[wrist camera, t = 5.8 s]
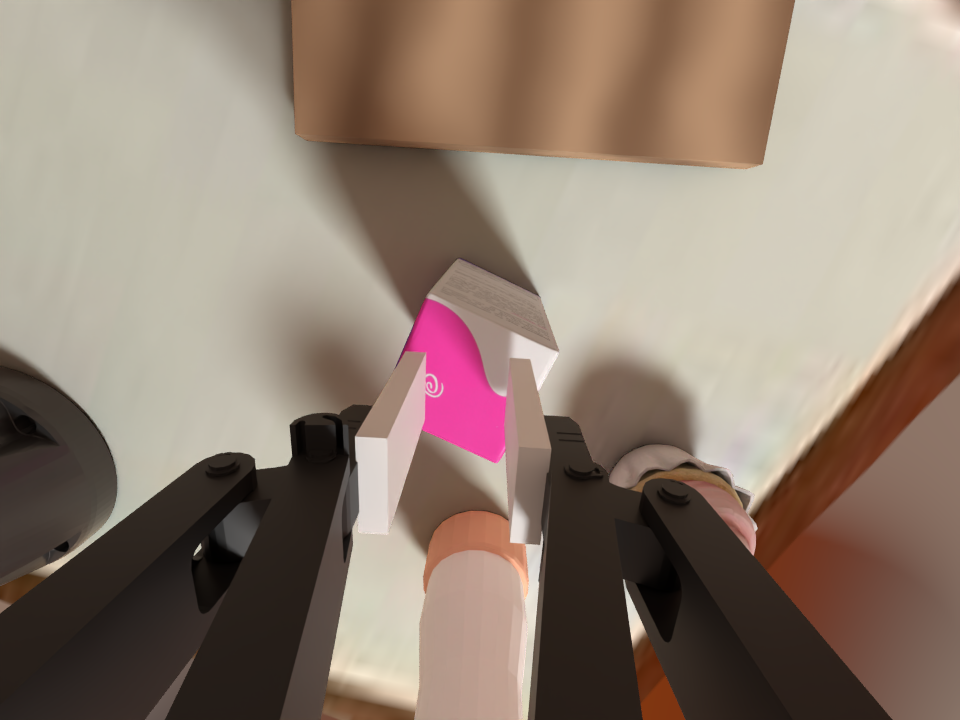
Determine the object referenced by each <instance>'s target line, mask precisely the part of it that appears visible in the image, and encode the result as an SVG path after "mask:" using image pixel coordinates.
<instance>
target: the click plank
mask: <svg viewBox="0 0 960 720" xmlns="http://www.w3.org/2000/svg"><path fill="white" fill-rule="evenodd" d="M794 3H795V0H291V9H292V44H293V79H294V114H295V134H296V135H298V136H300V137H302V138H303V139H305V140H307V141H320V142H335V143H350V144H366V145H381V146H397V147H412V148H427V149H443V150H458V151H473V152H489V153H504V154H520V155H535V156H550V157H566V158H581V159H596V160H612V161H627V162H643V163H658V164H673V165H689V166H704V167H719V168H735V169H748V168H752V167H755V166H758V165H761V164H763V160H764V155H765V150H766V145H767V140H768V135H769V130H770V125H771V120H772V114H773V109H774V104H775V99H776V94H777V89H778V84H779V79H780V74H781V69H782V64H783V59H784V54H785V49H786V44H787V38H788V33H789V28H790V23H791V18H792V13H793V8H794Z"/></svg>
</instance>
